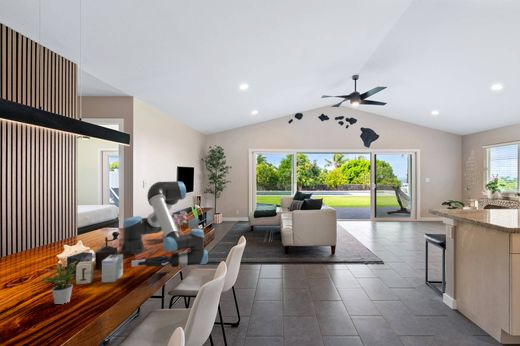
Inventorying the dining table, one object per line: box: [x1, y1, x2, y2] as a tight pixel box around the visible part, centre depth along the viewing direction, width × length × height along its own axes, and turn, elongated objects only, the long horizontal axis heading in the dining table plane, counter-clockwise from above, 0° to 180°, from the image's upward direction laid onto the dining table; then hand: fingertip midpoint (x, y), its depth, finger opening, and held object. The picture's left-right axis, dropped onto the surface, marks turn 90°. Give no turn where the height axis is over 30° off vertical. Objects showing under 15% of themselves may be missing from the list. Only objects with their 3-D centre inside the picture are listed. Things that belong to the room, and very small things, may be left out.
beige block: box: [75, 260, 94, 285], centre depth 141 cm, size 6×6×9 cm
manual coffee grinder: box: [94, 231, 120, 270], centre depth 167 cm, size 16×11×18 cm
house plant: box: [39, 261, 77, 305], centre depth 119 cm, size 14×14×16 cm
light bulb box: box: [101, 253, 124, 283], centre depth 145 cm, size 11×7×11 cm, turn 8°
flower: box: [161, 208, 188, 240], centre depth 232 cm, size 20×22×25 cm
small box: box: [66, 251, 93, 279], centre depth 150 cm, size 11×6×10 cm, turn 168°
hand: (131, 263), depth 148 cm, fingers closed
